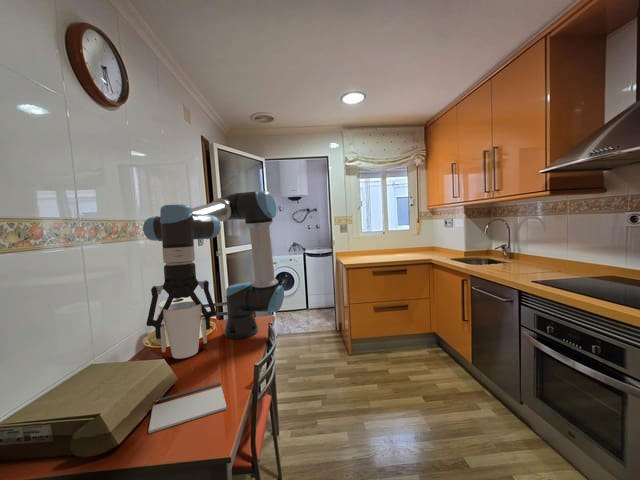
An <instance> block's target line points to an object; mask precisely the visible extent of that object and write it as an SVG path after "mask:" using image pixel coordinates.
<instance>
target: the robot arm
mask: <svg viewBox="0 0 640 480" xmlns="http://www.w3.org/2000/svg"><path fill="white" fill-rule="evenodd" d="M159 210H160V213H159V214H160V216H158V215H157V216H152V217H149V218H147V219H146V220H144V223H143V224H142V231H143V234H144V236H145V237H146V239H148V240H150V241H156V242H157V241H158V242H161V243H162V249H161V250H162V260H163V263H164V264H165V265H164V266H163V276H164V277H163V278H164V282H163V284H162V285H161V284H160V285H153V286H152V287H151V289H150V291H151V297H152V298H151V302H150V307H149V310H148V315H147V319H146V320H147V321H146V326H147V327H153V328H155V329H154V330H155V338H156V340H160V343H161V346H160V347H161V353H166V349H167V347H166V346H167V345H166V343H167V342H166V331H165V330H166V327H165V323H163V321H164V318H163V309H167V310H168V309H169V307H170V305H171V304H173V303H172V302H173V301H174V299H175V300H179V299H181V298H184V299H186V298H190V299H191V301H194V303H195V304H196V305H198V304H201V308H202V313H201V315H203V316H202V317H201V321H202V322H201V323H202V340H203V344H207V343H208V336H207V331H210V329H211V317H214V316H216V315H217V310H216V307H215V304H214V302H213V298H212V295H211V293H210V290H209V288H210V287H209V285H210V282H209V280H207V279H205V280H199V279H197V274H196V273H197V272H196V264H195V262H194V261H195V260H196V257H195V256H196V255H195V253H196V252H195V246H194V245H195V242H194V240H209V239H214V238H216V237H217V236H218V235H219V233H220V232H221V222H227V221H231V220H232V221H234V220H236V221H237V220H244V221H245V222H244V223H245V225H246V226H248V228H249V234H250V235H249V236H250V244H251V253H252V260H253V261H252V263H253V271H254V281H253V282H250V281H246V282H240V283H235V284H231V285H229V286H227V287H226V290H225V298H226V301H225V302H226V314H227V315H226V317H227V320H226V323H225V326H224V337H225V338H227V339H229V340H241V339H245V338H251V337H252V336H255V335H256V334H257V333H258V332H259V328H258V327H259V326H258V323H257V321H256V318H255V315H254V313H255V312H257V313H277V312H278V311H279V310H280V309H281V308H282V305H283V302H284V297H285V289H284V286H282V285H279V280H278V279H277V278H276V277H275V269H274V259H273V248H272V238H271V228H270V226H271V225H272V223H273V218H275V217H276V216H277V204H276V202H275V198H274V197H273V195H272V193H270V192H269V191H265V190H257V191H247V192H246V191H245V192H235V193H231V194H228V195H225V196H222V197H221V196H220V197H219V198H216V199H214V200H212V202H210V203H206V204H202V205H199V206H196V207H195V206H194V207H191V206H190V205H188V204H164V205H162V206H161V207H160V209H159ZM198 286H199V287H200V289H202V290H203V292H204V295H205V298H206V301H207V304H208V307H209V310H210V311H208V309H206V307H205V306H204V304H203V303H202V301H201V300H200V299H199V297H198V296H197V294H196V293H195V291H196V289H197V288H198ZM163 290H164V291H165V292H166V293H167V294H168V297H167V299H166V300H165V302H164V304H163V306H162V309H161V311H160V313H159V315H158V317H157V319H154V318H155V313H156V308H157V305H158V299H159V295H161V294H162V291H163Z"/></svg>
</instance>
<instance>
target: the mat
mask: <svg viewBox="0 0 640 480" xmlns="http://www.w3.org/2000/svg"><path fill="white" fill-rule="evenodd" d="M225 410H227V403H226V399H225V395H224V391H223V387H222V386H219V387H216V388H215V387H214V388H211V389H208V390H205V391H202V392H201V391H200V392H198V393H193V394H190V395H187V396H183V397H180V398H175V399H173V400H169V401H166V402H162V403H158V404H154V405H152V409H151V414H150V415H151V416H150V420H149V426H148V434H152V433H155V432H158V431H162V430H164V429H168V428H171V427H174V426H178V425H180V424H183V423H186V422H189V421H193V420H196V419H200V418H203V417H206V416H209V415H212V414H215V413H218V412H222V411H225Z"/></svg>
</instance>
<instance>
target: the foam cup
mask: <svg viewBox="0 0 640 480" xmlns="http://www.w3.org/2000/svg"><path fill="white" fill-rule="evenodd" d="M162 309H163V308H162ZM201 316H202V308H201V304H198V305H196V304H195V303H194V301H193V300H188V301H180V302H174V303H171V305H170V307H169V309H168V310H167V309H163V318H164V319H163V321H164V327H165V330H166V333H167V335H166V336H167V337H168V338H167V339H168V342H169V347H170V351H171V352H170V353H171V355H172V358H174V359H185V358H190V357H192V356H195V355H196V354H197V353H198V352H199V344H200V333H201V321H202V317H201Z"/></svg>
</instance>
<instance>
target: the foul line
mask: <svg viewBox="0 0 640 480" xmlns="http://www.w3.org/2000/svg"><path fill="white" fill-rule="evenodd" d="M221 384H222V383H221V382H220V381H219V382H216V383H212V384H207V385H204V386H201V387H197V388H196V387H195V388H194V389H189V390H186V391H182V392H179V393H175V394H172V395H167V396H163V397H160V398H161V399H160V401H159V403H160V402H163V401H167V400H170V399H175V398H177V397H181V396H184V395H188V394H192V393H193V394H194V393H195V392H199V391H200V392H201V391H203V390H207V389H210V388H211V389H212V388H213V387H214V388H215V387H218V386H221Z"/></svg>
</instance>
